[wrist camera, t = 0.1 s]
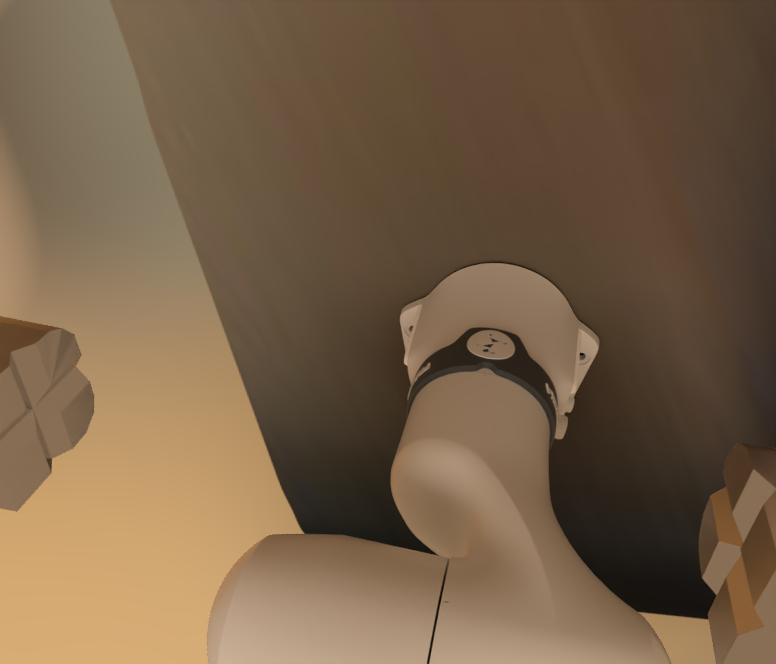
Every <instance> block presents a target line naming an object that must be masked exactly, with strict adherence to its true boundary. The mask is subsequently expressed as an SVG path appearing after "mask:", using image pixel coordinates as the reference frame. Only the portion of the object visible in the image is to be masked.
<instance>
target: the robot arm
mask: <svg viewBox="0 0 776 664" xmlns="http://www.w3.org/2000/svg"><path fill="white" fill-rule="evenodd" d="M400 325H401V330H402V335H403V341H404V346H405V352H406V353H405V357H404V364H405V365H407V366H408V374H409V379H410V383H411V387H410V390H409V393H408V398H407V400H408V402H407V406H406V421H407V422H406V425H405V428H404V431H403V434H402V437H401V440H400V443H399V446H398V449H397V452H396V455H395V458H394V461H393V465H392V468H391V490H392V495H393V498H394V501H395V504H396V506H397V508H398V510H399V512H400V514H401V516H402V518H403V519H404V521H405V522H406V524H407V526H408V527H409V529H410V530H411V531H412V533H413V534H414V535H415V536H416V537H417V538H418V539H419V540H420V541H421V542H423V543H424V544H425V545H426V546H427V547H429V548H430V549H431V550H432V551H434V552H435V553H436V554H437V555H439V556H437V555H432V554H428V553H423V552H419V551H414V550H410V549H405V548H401V547H396V546H392V545H387V544H382V543H378V542H373V541H369V540H364V539H360V538H355V537H351V536H346V535H327V534H281V535H280V534H275V535H269V536H267V537H265V538H264V539H262V540H261V541H259V542H258V543H256V544H255V545H254V546H253V547H251V548H250V549H249V550H248V551H247V552H245V553H244V554H243V556H242V557H241V558H240V559H239V560H238V561H237V562H236V563H235V565H234V566H233V567H232V569H231V570H230V571H229V573H228V574H227V576H226V577H225V579H224V581H223V583H222V585H221V586H220V589H219V591H218V593H217V595H216V598H215V600H214V603H213V607H212V610H211V615H210V618H209V625H208V633H207V652H208V653H207V655H208V661H209V664H671V662H670V659H669V656H668V655H667V652H666V650H665V648H664V646H663V644H662V642H661V641H660V639H659V637H658V636H657V634H656V633H655V631H654V630H653V628H652V627H651V625H650V624H649V623H648V622H647V621H646V619H645V618H644V617H643V616H642V615H641V614H639V613H638V612H637V611H635V610H634V609H633V608H631V607H630V606H629V605H627V604H626V603H625V602H623V601H622V600H621V599H620V598H618V597H617V596H616V595H615V594H614V593H613V592H611V591H610V590H609V589H608V588H607V587H606V586H605V585H604V584H603V583H602V582H601V581H600V580H599V579H598V578H597V577H596V576H595V575H594V574H593V573H592V572H591V570H590V569H589V568H588V567H587V566H586V565H585V563H584V562H583V561H582V560H581V558H580V557H579V556H578V554H577V553H576V552H575V550H574V549H573V547H572V546H571V544H570V543H569V541H568V540H567V538H566V537H565V535H564V533H563V531H562V529H561V527H560V526H559V524H558V521H557V519H556V517H555V515H554V512H553V508H552V505H551V500H550V490H549V450H550V449H551V447H552V444H553V442H554V439H555V438H556V439H562V438H563V437H564V434H565V432H566V429H567V424H568V417H566V416H565V415H564V414H565V412H569V413H570V412H571V411H572V409H573V406H574V401H575V399H574V398H573V397H574V395H575V394H576V392H577V390H578V388H579V386H580V384H581V382H582V380H583V379H584V377H585V375H586V373H587V371H588V369H589V367H590V365H591V364H592V362H593V360H594V358H595V356H596V354H597V352H598V349H599V338H598V337H597V335H596V334H595V333H594V332H593V331H592V330H590V329H589V328H588V327H587V326H585V325H584V324H583V323H581V322H580V321H579V320H578V319H577V318H576V316H575V314H574V313H573V311H572V309H571V307H570V305H569V303H568V302H567V300H566V298H565V297H564V296H563V294H562V293H561V292H560V291H559V290H558V289H557V288H556V287H555V286H554V285H553V284H552V283H551V282H549V281H548V280H547V279H545V278H544V277H542V276H540V275H539V274H537V273H535V272H533V271H530V270H528V269H525V268H522V267H519V266H515V265H510V264H502V263H486V264H478V265H473V266H470V267H466V268H464V269H461V270H459V271H457V272H455V273H453V274H451V275H450V276H448V277H447V278H445V279H444V280H443V281H442V282H441V283H439V284H438V286H437V287H436V288H435V289H434V290H433V291H432V292H431V293H430V294H429V295H427V296H426V297H425V298H422V299H419V300H417V301H414V302H412V303H410V304H408V305H406V306H405V307H404V308H403V309H402V311H401V315H400ZM411 326H413V328H411ZM580 353H584V355H582V356H580ZM80 357H81V352H80V349H79V346H78V344H77V341H76V338H75V335H74V334H72V333H70V332H68V331H66V330H64V329H62V328H58V327H53V326H48V325H42V324H37V323H32V322H27V321H22V320H17V319H12V318H7V317H1V316H0V508H2V509H7V510H13V511H18V510H19V509H20V508H21V507H22V505H23V504H24V503H25V502H26V501H27V500H28V499H29V498H30V496H31V495H32V494H33V493H34V492H35V491H36V490H37V489H38V487H39V486H40V485H41V484H42V483H43V482H44V481H45V480H46V478H47V477H48V476H49V475H50V474H51V468H52V467H51V466H52V458H54V457H56V456H58V455H60V454H62V453H65V452H66V451H69V450H71V449H73V448H74V447H75V445H76V444H77V443H78V442H79V440H80V439H81V438H82V437H83V436H84V435H85V433H86V432H87V429H88V426H89V424H90V421H91V418H92V416H93V413H94V394H93V391H92V387H91V384H90V381H89V380H88V379H87V378H86V377H85V376H84V375H83V374H82V373H81V372H80V371H79V369H78V368H77V367H76V365H77V363H78V361H79V359H80ZM723 472H724V477H725V481H726V486H727V487H726V488H724V489H722V490H720V491H718V492H716V493H714V494H713V495H711V496H710V498H709V501H708V504H707V506H706V509H705V511H704V514H703V517H702V523H701V529H700V536H699V560H700V567H701V574H702V578H703V580H704V581H705V582H706V583H707V584H708V585H709V587H710V588H711V589H712V590H713V591H714V592H715V594H716V595H717V596H716V598H715V600H714V602H713V605H712V607H711V609H710V611H709V613H708V618H709V624H710V630H711V635H712V642H713V647H714V653H715V659H716V664H776V449H775V448H769V447H763V446H756V445H750V444H744V443H737V444H736V445H735V447H734V448H733V449H732V450H731V451H730V453H729V455H728V457H727V459H726V461H725V464H724V466H723Z"/></svg>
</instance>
